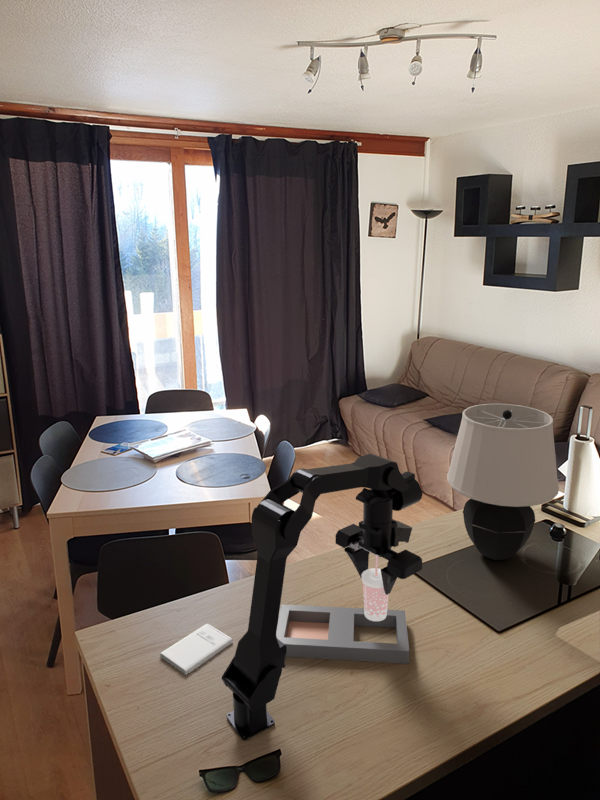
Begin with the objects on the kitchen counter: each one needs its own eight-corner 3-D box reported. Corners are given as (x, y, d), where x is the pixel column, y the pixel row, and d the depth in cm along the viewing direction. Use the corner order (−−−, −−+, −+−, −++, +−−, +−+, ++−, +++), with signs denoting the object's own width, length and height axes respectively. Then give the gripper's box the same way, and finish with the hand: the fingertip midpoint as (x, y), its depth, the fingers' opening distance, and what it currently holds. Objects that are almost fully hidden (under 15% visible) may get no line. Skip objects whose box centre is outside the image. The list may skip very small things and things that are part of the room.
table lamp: (496, 522, 173) (507, 390, 162) (574, 566, 150) (593, 416, 139) (421, 544, 162) (428, 404, 151) (493, 596, 138) (507, 434, 127)
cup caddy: (404, 622, 130) (404, 610, 129) (408, 663, 117) (409, 651, 116) (281, 615, 132) (281, 604, 132) (273, 655, 120) (272, 643, 119)
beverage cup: (396, 617, 121) (398, 556, 117) (372, 627, 118) (373, 565, 115) (378, 602, 126) (379, 543, 123) (354, 611, 123) (355, 551, 120)
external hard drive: (160, 659, 120) (207, 628, 129) (186, 677, 115) (232, 644, 124) (159, 652, 120) (206, 622, 129) (185, 670, 115) (232, 637, 124)
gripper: (441, 521, 114) (437, 591, 119) (371, 491, 128) (369, 555, 132) (404, 540, 108) (401, 614, 112) (333, 506, 121) (333, 573, 126)
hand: (376, 586), depth 121 cm, fingers closed on beverage cup, 6 cm apart
